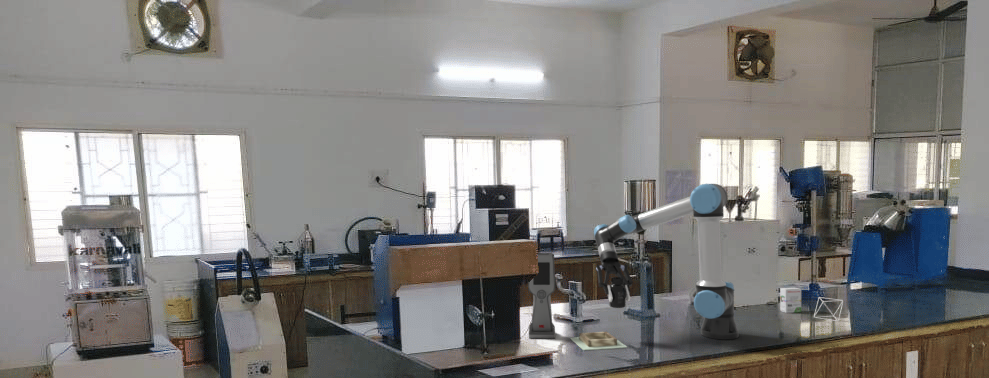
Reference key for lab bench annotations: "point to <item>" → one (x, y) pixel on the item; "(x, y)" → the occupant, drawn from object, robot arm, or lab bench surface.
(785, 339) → the lab bench surface
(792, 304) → the ink box
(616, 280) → the supplement bottle
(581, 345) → the mat
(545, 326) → the thermal camera
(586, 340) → the wooden square frame
